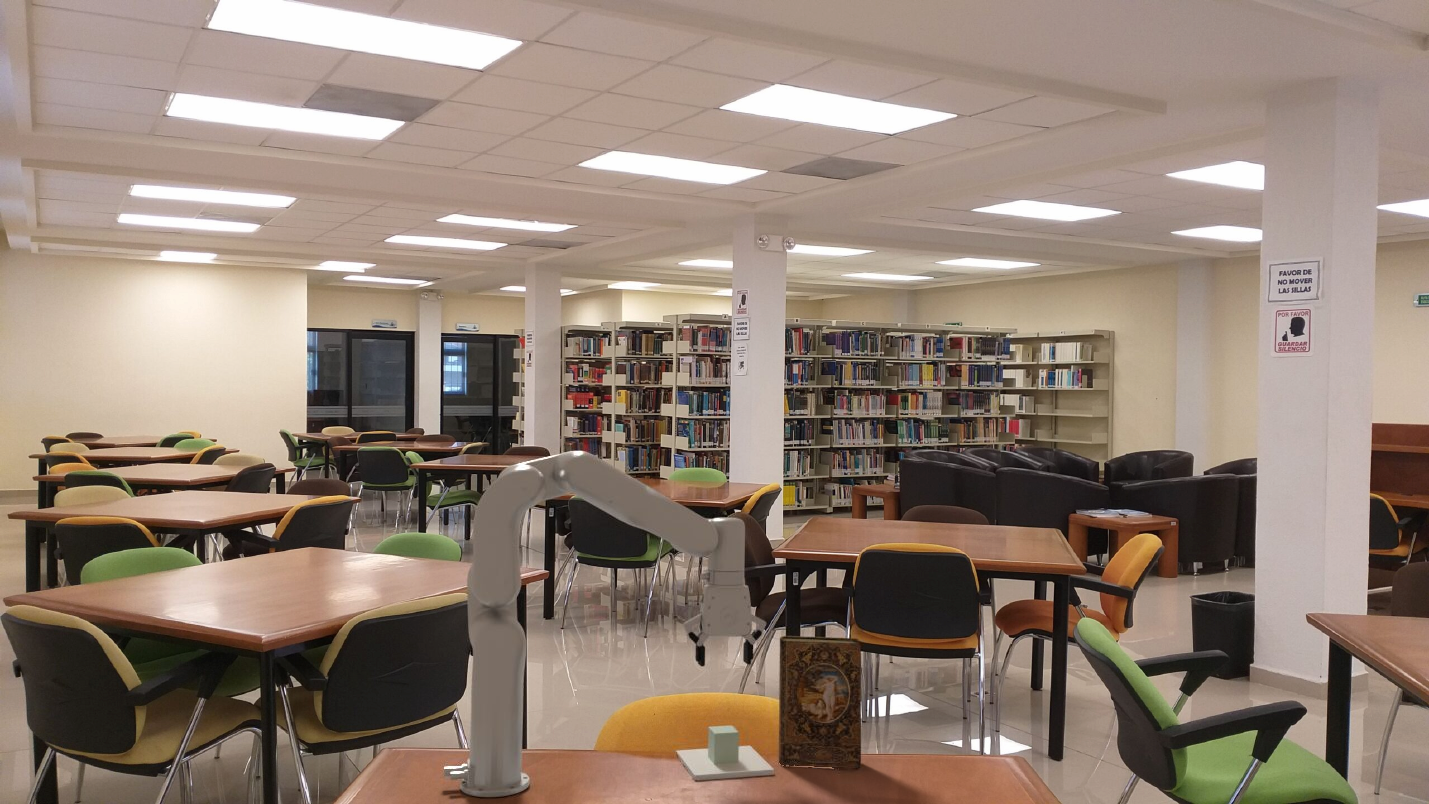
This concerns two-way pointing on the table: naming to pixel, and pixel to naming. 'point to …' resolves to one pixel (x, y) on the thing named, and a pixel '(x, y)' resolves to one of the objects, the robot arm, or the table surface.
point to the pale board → (706, 770)
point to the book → (820, 702)
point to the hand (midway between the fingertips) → (724, 664)
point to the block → (723, 744)
